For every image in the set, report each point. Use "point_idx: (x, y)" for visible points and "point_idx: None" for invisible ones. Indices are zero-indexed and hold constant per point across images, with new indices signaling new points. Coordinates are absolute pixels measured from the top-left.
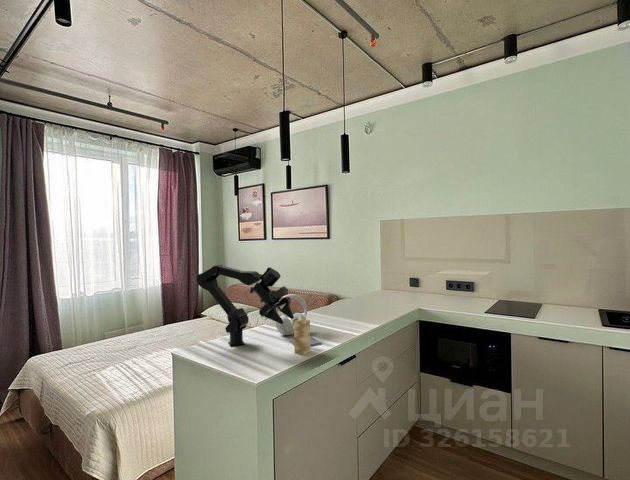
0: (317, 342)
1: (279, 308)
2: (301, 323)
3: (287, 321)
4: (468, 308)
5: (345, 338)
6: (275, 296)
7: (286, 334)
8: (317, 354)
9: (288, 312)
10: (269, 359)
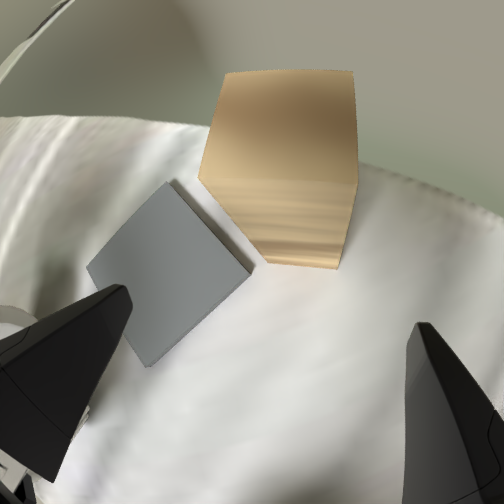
0: (169, 198)
1: (27, 490)
2: (354, 104)
3: None
4: (9, 60)
5: (104, 132)
6: None
7: None
8: None
9: (66, 362)
10: None
